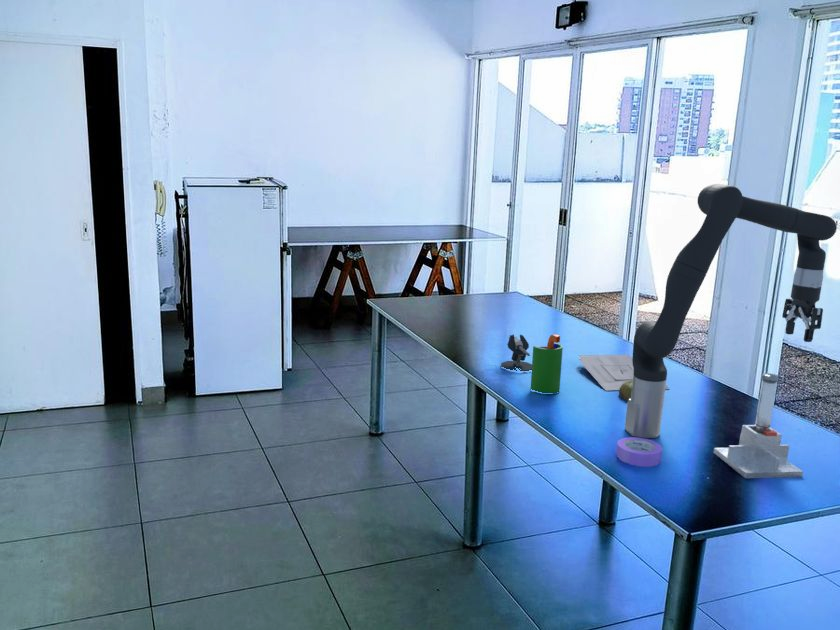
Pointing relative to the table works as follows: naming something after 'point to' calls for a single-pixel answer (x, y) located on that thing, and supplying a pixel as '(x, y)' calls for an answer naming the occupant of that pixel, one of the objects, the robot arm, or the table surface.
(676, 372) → the table surface
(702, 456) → the table surface
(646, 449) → the masking tape
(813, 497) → the table surface
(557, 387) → the green pen holder
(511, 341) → the gun turret
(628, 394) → the weight
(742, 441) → the jack base
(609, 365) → the papers
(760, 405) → the cylinder
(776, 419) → the table surface
